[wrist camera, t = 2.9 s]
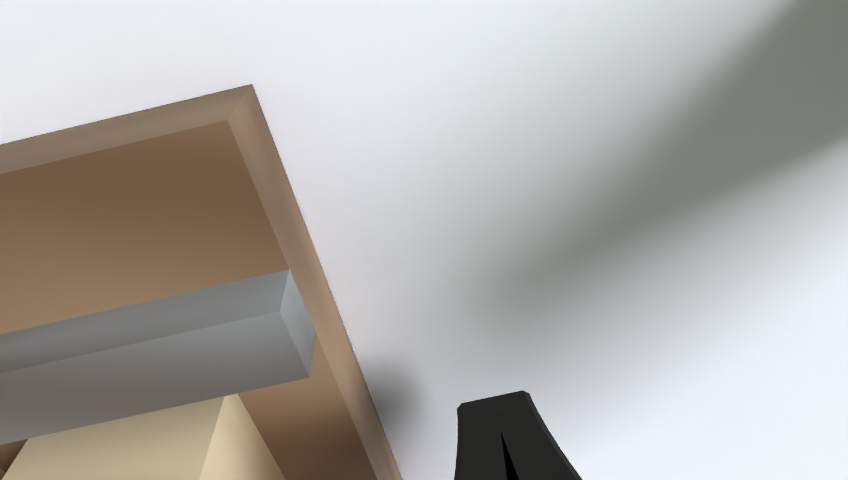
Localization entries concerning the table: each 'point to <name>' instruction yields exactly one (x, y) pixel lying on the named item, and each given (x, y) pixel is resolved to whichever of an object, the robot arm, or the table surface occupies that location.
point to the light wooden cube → (155, 447)
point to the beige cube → (2, 473)
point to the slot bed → (174, 288)
